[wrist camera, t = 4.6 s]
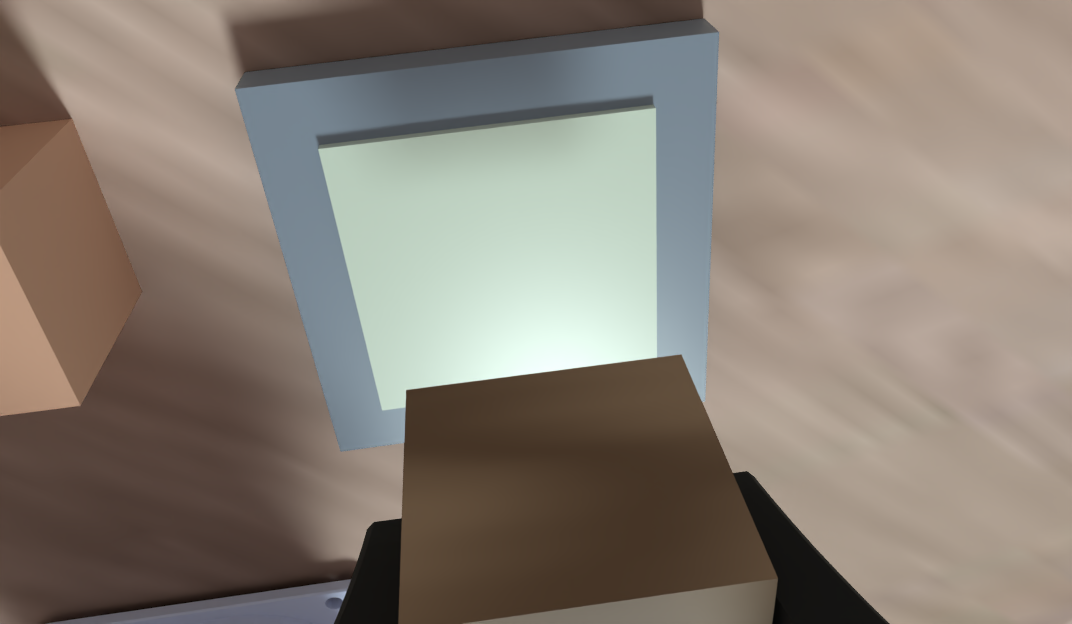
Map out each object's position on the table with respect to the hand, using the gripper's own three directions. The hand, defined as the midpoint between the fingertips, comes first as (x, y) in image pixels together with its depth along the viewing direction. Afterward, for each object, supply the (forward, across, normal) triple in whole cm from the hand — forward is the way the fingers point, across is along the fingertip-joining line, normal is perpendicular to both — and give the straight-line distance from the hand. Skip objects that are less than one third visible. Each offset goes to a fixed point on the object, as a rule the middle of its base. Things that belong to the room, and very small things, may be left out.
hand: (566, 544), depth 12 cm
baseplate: (+8, 0, 0) cm, 8 cm away
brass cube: (+2, 0, 0) cm, 2 cm away
